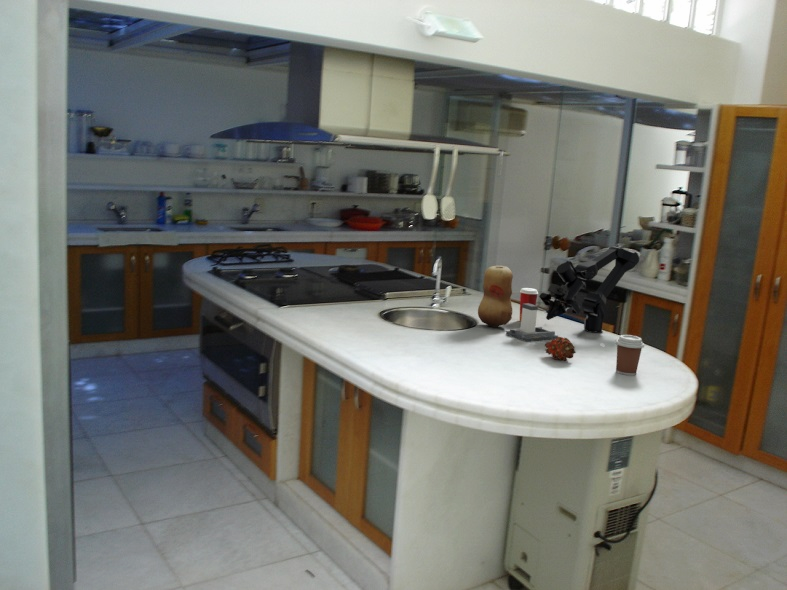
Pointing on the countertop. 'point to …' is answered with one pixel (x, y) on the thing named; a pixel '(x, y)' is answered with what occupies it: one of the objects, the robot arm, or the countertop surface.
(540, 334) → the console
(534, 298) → the paper cup
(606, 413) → the countertop surface
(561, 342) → the dragon fruit
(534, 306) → the plate
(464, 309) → the countertop surface
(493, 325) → the butternut squash
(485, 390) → the countertop surface
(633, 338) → the coffee cup
